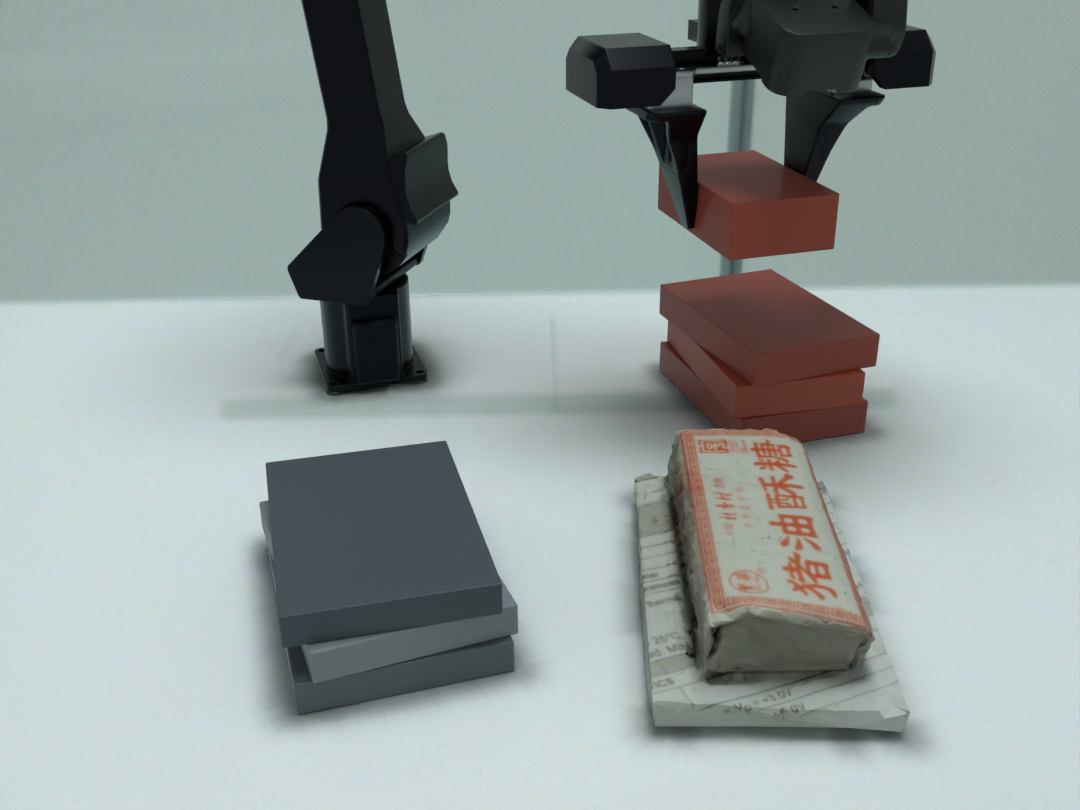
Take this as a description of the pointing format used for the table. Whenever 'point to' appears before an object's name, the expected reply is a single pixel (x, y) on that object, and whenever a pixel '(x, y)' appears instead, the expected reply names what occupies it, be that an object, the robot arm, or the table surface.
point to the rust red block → (757, 207)
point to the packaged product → (754, 593)
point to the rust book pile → (766, 355)
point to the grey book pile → (382, 576)
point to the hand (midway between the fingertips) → (740, 221)
